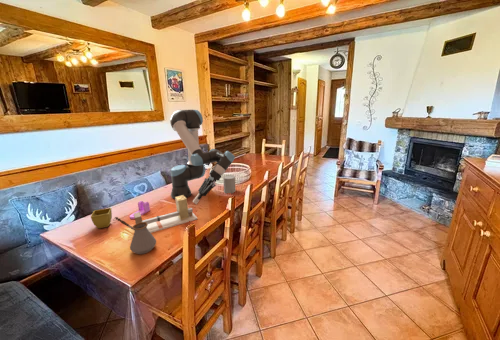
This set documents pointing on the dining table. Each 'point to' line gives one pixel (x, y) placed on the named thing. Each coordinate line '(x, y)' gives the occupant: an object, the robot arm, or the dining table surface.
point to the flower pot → (101, 217)
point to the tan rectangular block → (182, 206)
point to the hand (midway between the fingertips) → (194, 202)
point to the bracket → (141, 208)
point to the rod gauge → (164, 220)
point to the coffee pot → (140, 238)
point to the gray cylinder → (229, 184)
